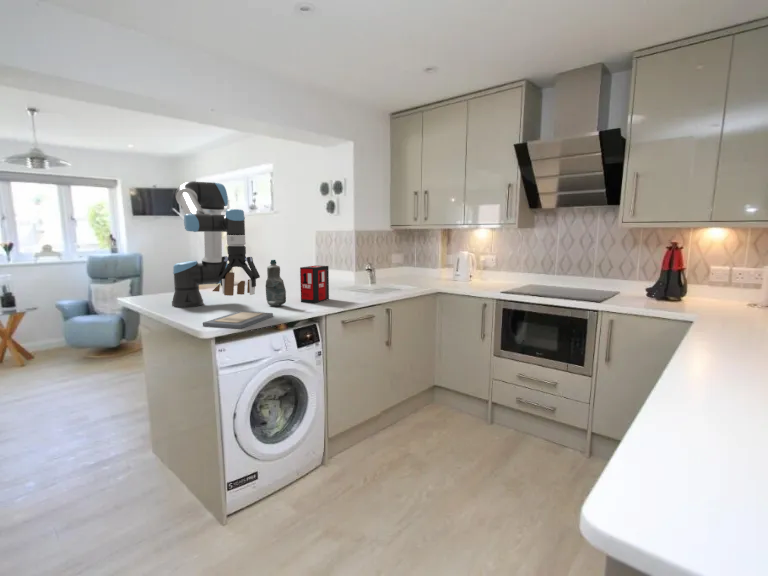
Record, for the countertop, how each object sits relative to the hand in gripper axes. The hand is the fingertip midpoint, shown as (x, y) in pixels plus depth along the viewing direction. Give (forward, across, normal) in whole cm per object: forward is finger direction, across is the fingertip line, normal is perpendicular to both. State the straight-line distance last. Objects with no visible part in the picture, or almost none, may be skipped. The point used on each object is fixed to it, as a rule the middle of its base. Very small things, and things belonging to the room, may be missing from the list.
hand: (238, 293), depth 176 cm
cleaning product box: (+13, +10, +60) cm, 62 cm away
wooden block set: (+2, -5, +3) cm, 6 cm away
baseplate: (+12, 0, 0) cm, 12 cm away
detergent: (+13, -4, +38) cm, 40 cm away
